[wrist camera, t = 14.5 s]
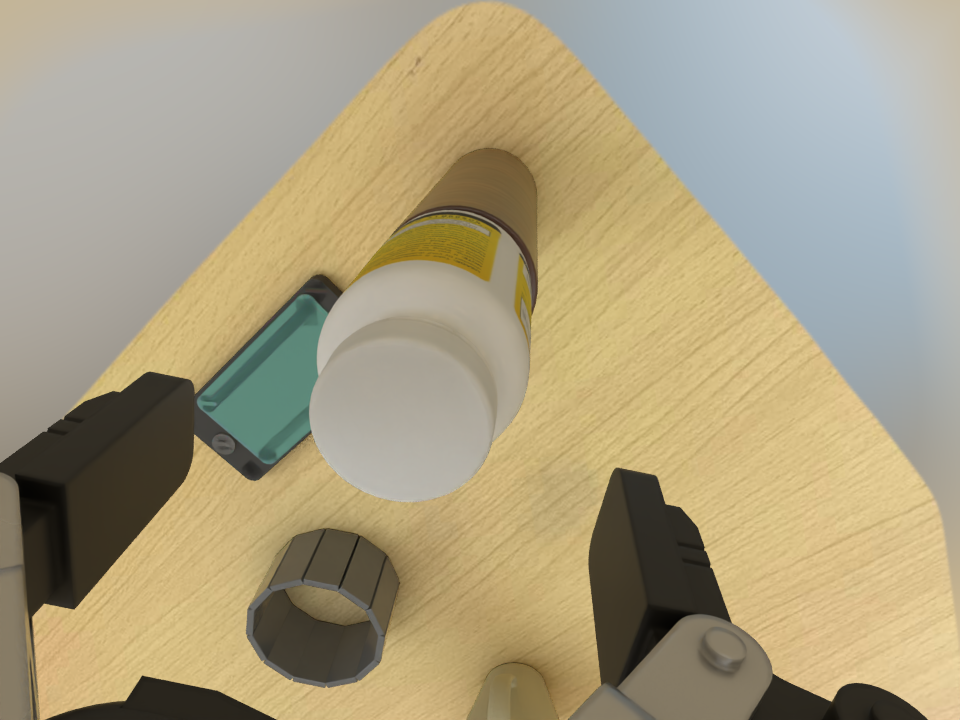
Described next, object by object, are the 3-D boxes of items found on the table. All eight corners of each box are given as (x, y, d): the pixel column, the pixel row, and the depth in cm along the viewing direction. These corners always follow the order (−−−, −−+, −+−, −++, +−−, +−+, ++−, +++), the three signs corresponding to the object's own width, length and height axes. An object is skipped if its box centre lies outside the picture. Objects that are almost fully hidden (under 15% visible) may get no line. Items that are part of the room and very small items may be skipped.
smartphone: (172, 418, 46) (313, 275, 41) (181, 409, 47) (319, 269, 42) (254, 487, 48) (399, 359, 43) (261, 478, 49) (403, 351, 44)
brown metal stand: (435, 234, 41) (366, 345, 24) (450, 139, 39) (386, 190, 22) (525, 253, 41) (518, 376, 24) (546, 159, 39) (554, 224, 22)
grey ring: (270, 615, 54) (243, 671, 49) (278, 518, 50) (249, 568, 45) (389, 639, 54) (374, 698, 49) (406, 544, 50) (392, 597, 45)
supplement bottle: (343, 274, 23) (221, 402, 14) (462, 172, 22) (409, 244, 13) (445, 387, 25) (393, 567, 16) (564, 299, 23) (582, 444, 14)
